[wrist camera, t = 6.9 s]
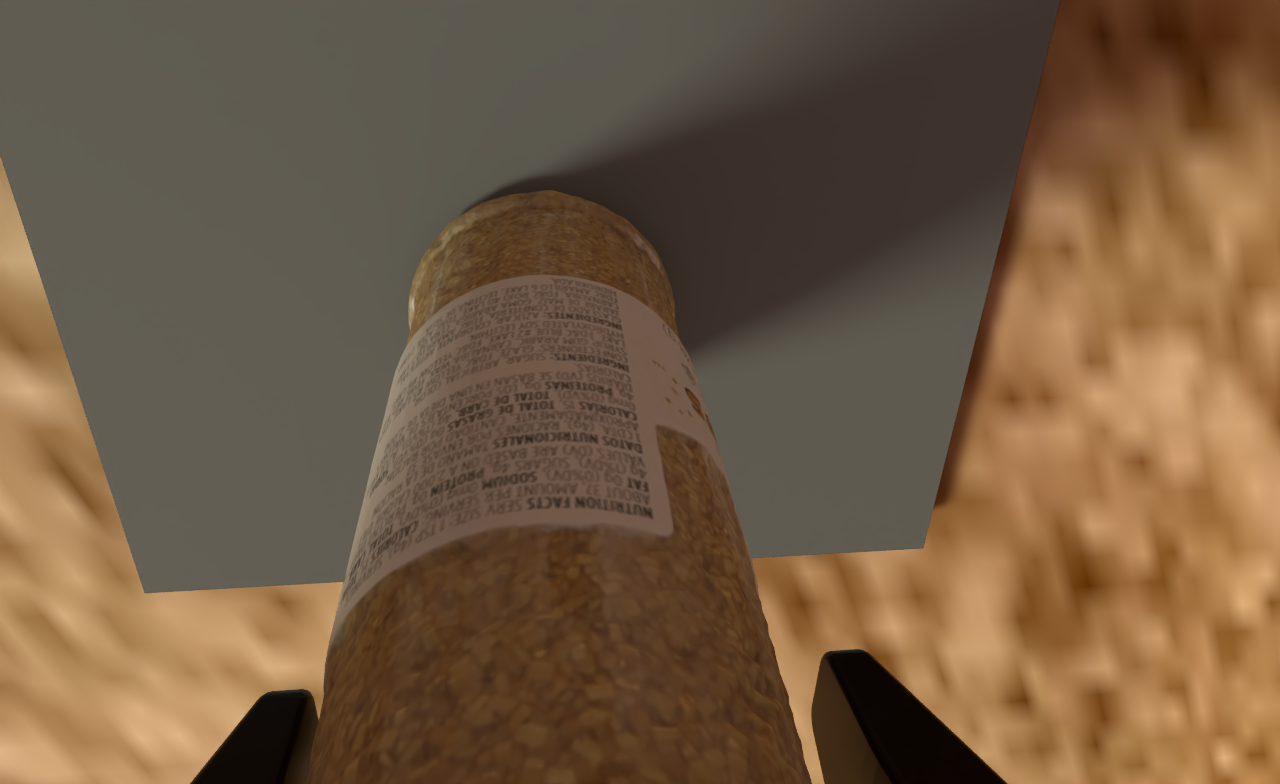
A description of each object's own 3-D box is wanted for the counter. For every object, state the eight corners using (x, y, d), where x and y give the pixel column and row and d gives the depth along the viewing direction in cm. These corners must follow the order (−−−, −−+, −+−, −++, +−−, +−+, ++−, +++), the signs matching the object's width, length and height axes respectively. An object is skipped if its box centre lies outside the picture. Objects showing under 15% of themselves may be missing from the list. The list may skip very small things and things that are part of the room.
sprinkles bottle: (672, 409, 18) (952, 1510, 6) (424, 426, 17) (232, 1635, 6) (672, 170, 15) (1136, 1244, 4) (385, 185, 15) (-80, 1431, 3)
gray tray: (160, 558, 19) (144, 593, 18) (-44, -99, 13) (-82, -92, 12) (906, 519, 21) (923, 548, 20) (1044, -71, 15) (1076, -64, 14)
